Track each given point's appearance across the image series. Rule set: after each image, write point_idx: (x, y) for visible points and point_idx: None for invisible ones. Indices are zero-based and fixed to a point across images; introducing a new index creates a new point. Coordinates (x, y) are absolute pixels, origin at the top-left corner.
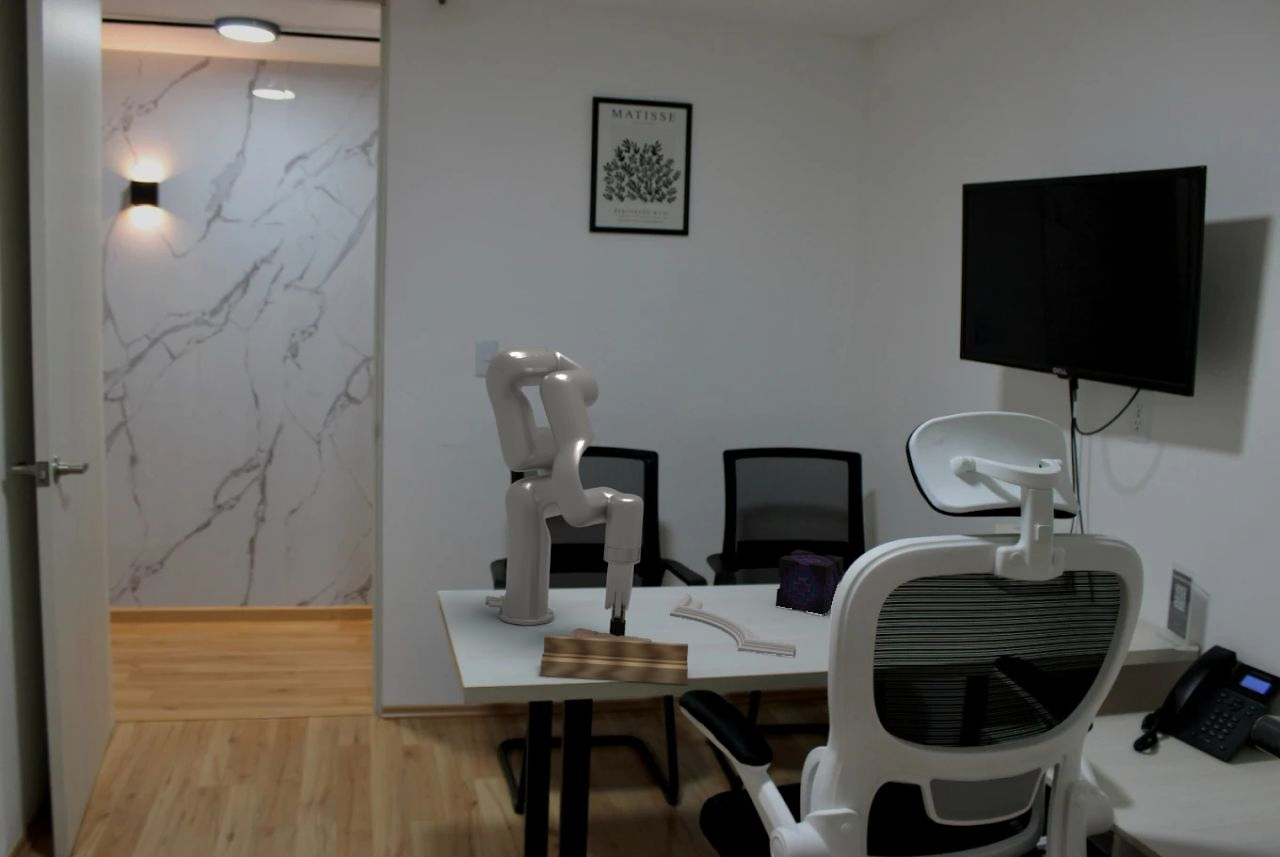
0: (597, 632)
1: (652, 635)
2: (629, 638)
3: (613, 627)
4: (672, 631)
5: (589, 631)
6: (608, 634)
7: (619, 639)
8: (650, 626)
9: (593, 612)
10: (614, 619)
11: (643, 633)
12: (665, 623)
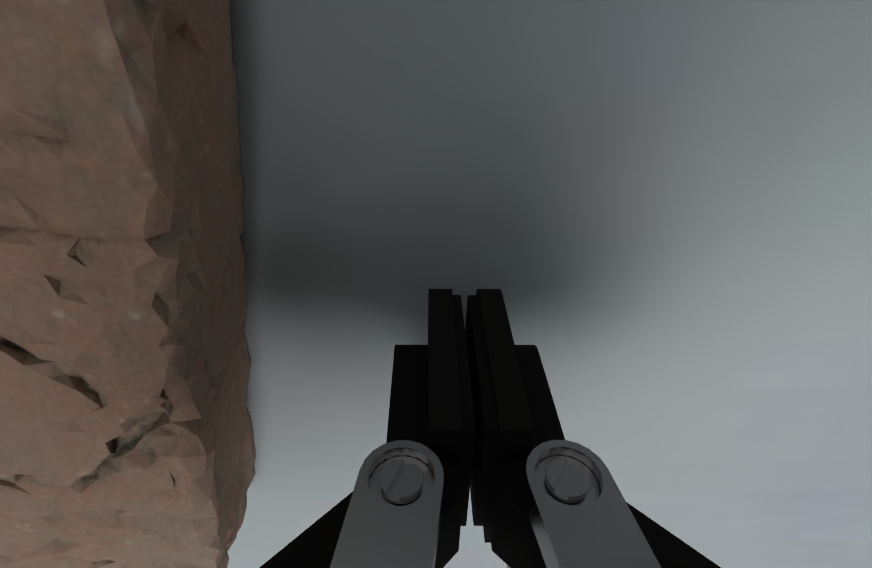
0: (95, 255)
1: (654, 480)
2: (135, 512)
3: (428, 395)
4: (716, 544)
5: (54, 136)
6: (124, 370)
7: (34, 458)
8: (836, 468)
9: None
10: (324, 519)
11: (699, 443)
12: (868, 520)
